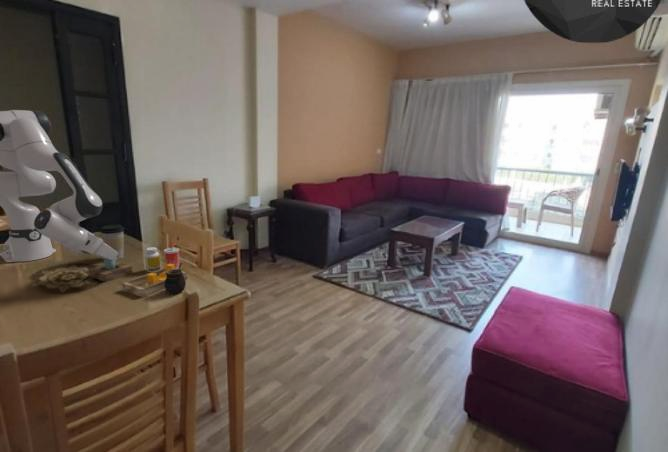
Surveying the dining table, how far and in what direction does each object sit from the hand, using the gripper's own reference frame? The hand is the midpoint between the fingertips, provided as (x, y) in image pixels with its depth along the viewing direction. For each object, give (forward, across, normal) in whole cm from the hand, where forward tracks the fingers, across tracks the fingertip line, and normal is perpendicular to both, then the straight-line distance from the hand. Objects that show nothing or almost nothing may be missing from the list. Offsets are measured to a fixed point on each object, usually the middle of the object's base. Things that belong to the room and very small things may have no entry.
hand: (110, 258), depth 142 cm
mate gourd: (+7, +35, -3) cm, 36 cm away
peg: (+4, 0, -5) cm, 7 cm away
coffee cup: (+14, -18, +4) cm, 23 cm away
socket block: (+4, 0, -5) cm, 7 cm away
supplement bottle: (+13, +10, +3) cm, 17 cm away
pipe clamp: (+8, +25, -3) cm, 26 cm away
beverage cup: (+16, +16, +7) cm, 24 cm away
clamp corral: (+6, +24, -3) cm, 25 cm away
